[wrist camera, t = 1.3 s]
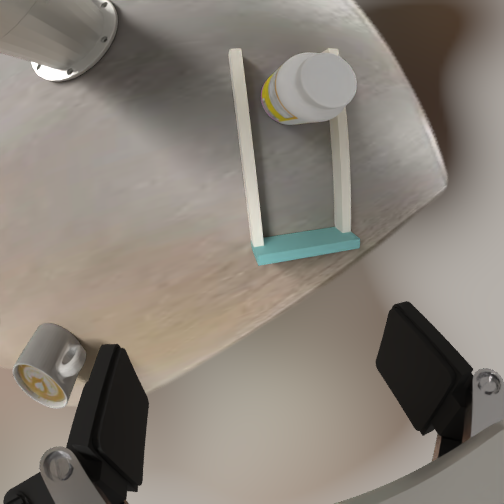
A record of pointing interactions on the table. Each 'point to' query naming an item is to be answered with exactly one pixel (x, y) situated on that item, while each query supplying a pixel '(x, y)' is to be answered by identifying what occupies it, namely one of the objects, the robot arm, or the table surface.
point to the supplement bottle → (309, 89)
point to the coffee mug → (50, 365)
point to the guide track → (262, 247)
